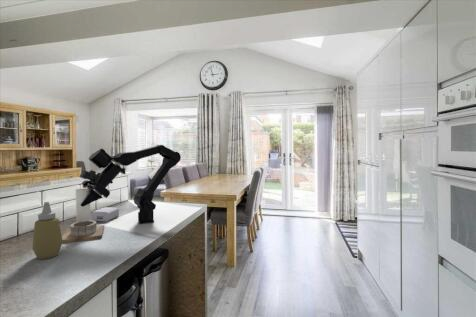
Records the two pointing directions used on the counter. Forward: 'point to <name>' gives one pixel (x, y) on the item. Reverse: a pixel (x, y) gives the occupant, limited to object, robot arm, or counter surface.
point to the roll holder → (83, 232)
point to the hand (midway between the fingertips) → (79, 204)
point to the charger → (104, 214)
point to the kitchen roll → (85, 211)
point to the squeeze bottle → (47, 234)
